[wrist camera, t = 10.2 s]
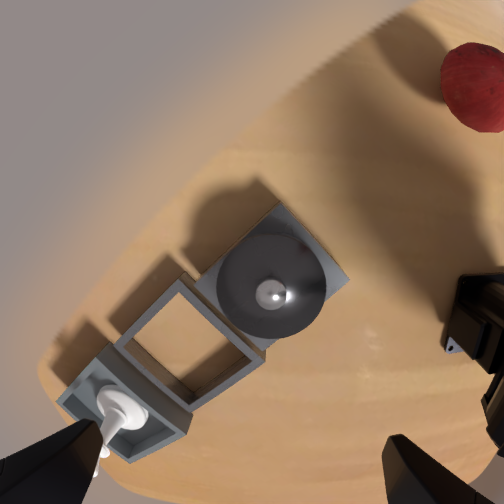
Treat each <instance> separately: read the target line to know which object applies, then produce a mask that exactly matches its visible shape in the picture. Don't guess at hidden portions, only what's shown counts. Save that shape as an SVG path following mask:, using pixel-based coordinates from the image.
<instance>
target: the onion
mask: <svg viewBox="0 0 504 504" xmlns="http://www.w3.org/2000/svg"><path fill="white" fill-rule="evenodd" d="M441 90H442V94H443V98H444V101H445V102H446V104H447V106H448V107H449V109H450V111H451V113H452V114H453V115H454V116H455V117H456V118H457V119H458V120H459V121H460V122H461V123H463V124H464V125H466V126H467V127H470V128H472V129H474V130H476V131H478V132H495V133H499V132H501V131H503V130H504V53H502V52H501V51H499V50H498V49H496V48H494V47H492V46H488V45H484V44H479V43H465V44H463V45H460V46H459V47H457V48H455V49H453V50H451V51H449V53H448V54H447V55H446V57H445V59H444V62H443V64H442V67H441Z"/></svg>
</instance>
